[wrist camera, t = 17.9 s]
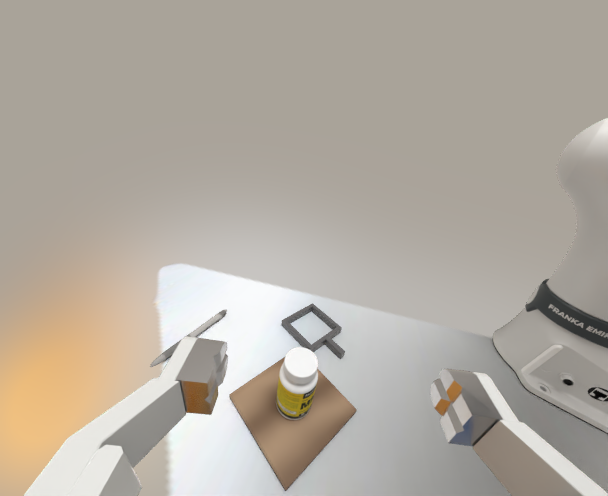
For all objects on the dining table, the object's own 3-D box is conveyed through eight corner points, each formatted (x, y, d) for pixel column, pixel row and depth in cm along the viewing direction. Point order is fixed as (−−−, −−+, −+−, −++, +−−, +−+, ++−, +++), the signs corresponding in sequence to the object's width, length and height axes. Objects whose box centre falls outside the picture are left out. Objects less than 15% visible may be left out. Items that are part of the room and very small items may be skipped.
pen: (228, 315, 45) (228, 309, 44) (153, 372, 34) (151, 366, 33) (224, 312, 45) (224, 306, 45) (149, 368, 35) (147, 362, 34)
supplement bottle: (301, 429, 30) (311, 389, 25) (268, 408, 31) (272, 368, 27) (316, 394, 33) (327, 354, 29) (287, 377, 35) (292, 338, 31)
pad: (355, 412, 33) (356, 409, 32) (285, 490, 25) (286, 488, 25) (297, 350, 40) (297, 348, 40) (229, 397, 32) (229, 394, 32)
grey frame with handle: (355, 345, 42) (357, 341, 42) (326, 370, 37) (327, 365, 37) (311, 307, 49) (312, 303, 48) (281, 324, 44) (282, 320, 44)
